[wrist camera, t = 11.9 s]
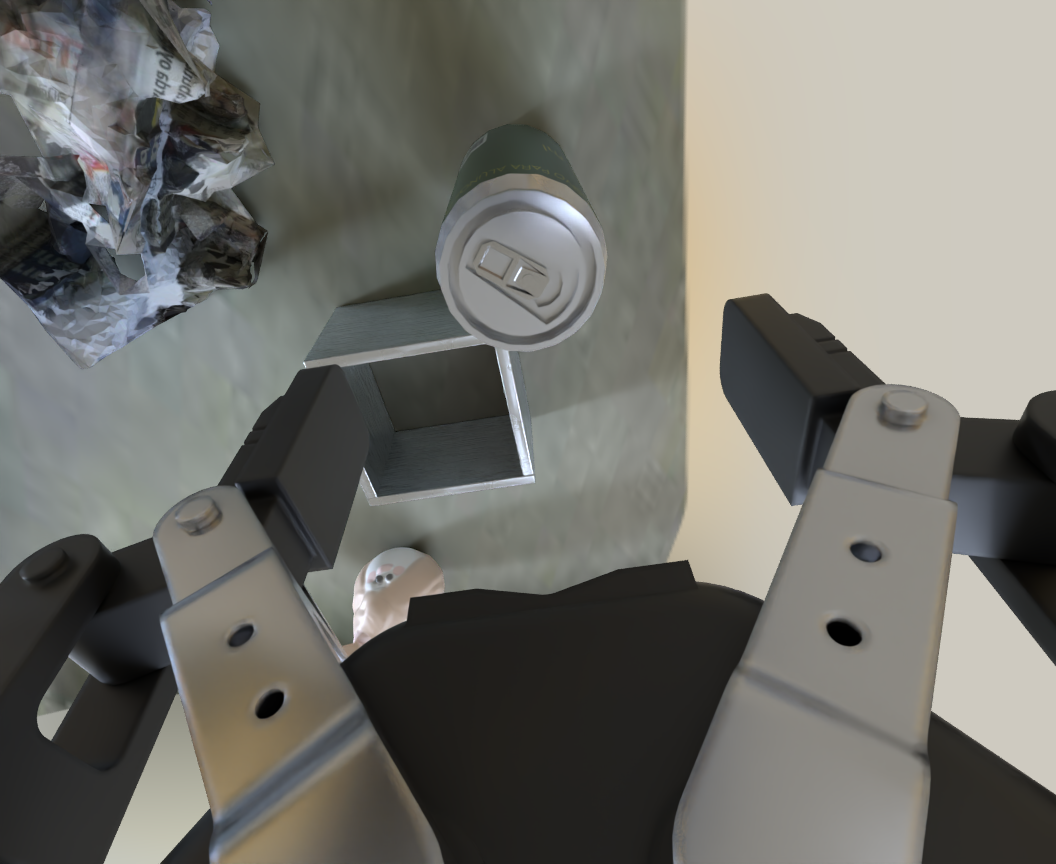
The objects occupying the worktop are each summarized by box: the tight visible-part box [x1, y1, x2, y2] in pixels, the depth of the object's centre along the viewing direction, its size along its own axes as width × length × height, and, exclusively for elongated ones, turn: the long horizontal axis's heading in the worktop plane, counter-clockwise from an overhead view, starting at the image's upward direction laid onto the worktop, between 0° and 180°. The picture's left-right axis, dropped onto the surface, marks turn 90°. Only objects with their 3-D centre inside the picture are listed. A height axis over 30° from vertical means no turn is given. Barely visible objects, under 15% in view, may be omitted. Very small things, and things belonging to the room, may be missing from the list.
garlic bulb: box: [342, 547, 445, 657], centre depth 38 cm, size 7×6×8 cm
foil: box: [0, 0, 275, 369], centre depth 22 cm, size 12×11×15 cm
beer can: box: [435, 124, 608, 351], centre depth 21 cm, size 5×5×12 cm
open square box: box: [304, 290, 535, 506], centre depth 29 cm, size 9×9×6 cm
